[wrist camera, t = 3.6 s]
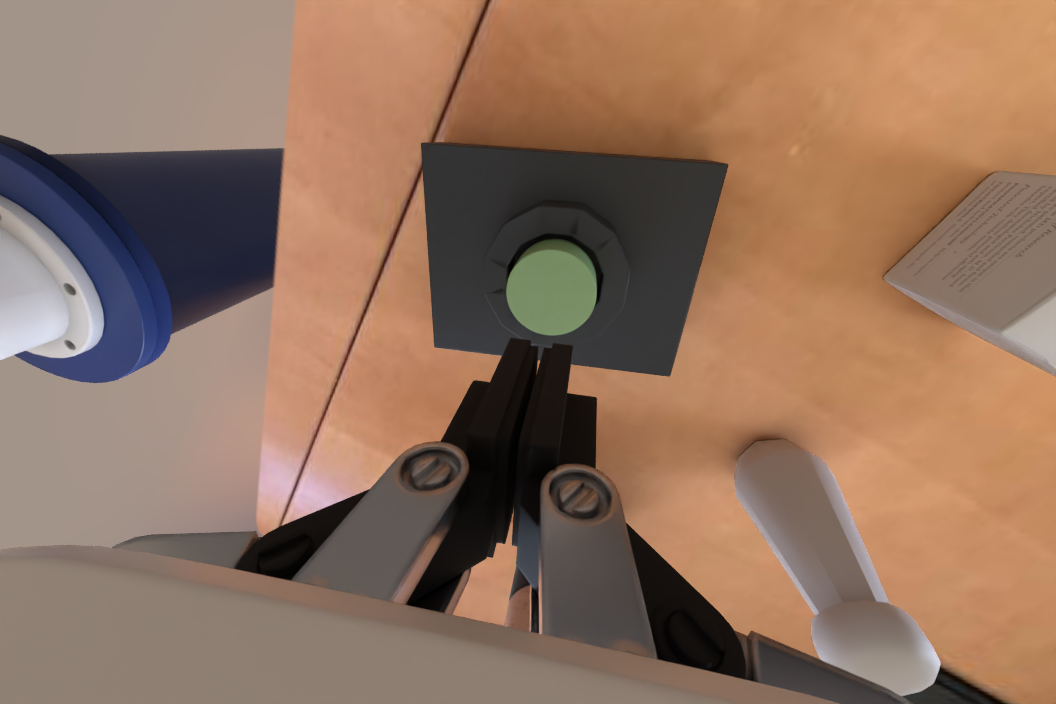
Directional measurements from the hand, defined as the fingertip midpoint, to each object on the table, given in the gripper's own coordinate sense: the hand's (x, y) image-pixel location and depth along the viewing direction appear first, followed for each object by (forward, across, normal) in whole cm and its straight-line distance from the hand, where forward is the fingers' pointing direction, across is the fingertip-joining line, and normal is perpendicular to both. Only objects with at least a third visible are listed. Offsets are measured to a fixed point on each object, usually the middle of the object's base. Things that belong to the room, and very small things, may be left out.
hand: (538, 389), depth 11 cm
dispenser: (+14, +1, 0) cm, 14 cm away
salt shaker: (+14, -15, +13) cm, 25 cm away
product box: (+15, -20, -2) cm, 25 cm away
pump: (+9, +1, 0) cm, 10 cm away
